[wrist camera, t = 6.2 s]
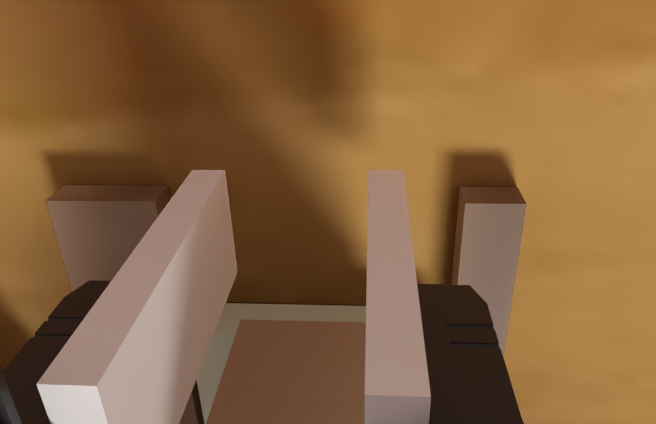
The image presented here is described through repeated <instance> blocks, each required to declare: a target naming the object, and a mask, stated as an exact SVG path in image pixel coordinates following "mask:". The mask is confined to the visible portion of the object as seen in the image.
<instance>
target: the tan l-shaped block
mask: <svg viewBox="0 0 656 424" xmlns="http://www.w3.org/2000/svg"><path fill="white" fill-rule="evenodd" d="M365 345H366V306H339V305H291V304H242V303H226V304H225V306H224V309H223V311H222V314H221V317H220V319H219V322H218V324H217V327H216V330H215V332H214V335H213V337H212V340H211V342H210V345H209V348H208V350H207V353H206V355H205V358H204V361H203V363H202V366H201V368H200V371H199V374H198V376H197V379H196V380H197V385H198V391H199V396H200V402H201V407H202V413H203V418H204V424H365Z"/></svg>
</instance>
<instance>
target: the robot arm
mask: <svg viewBox="0 0 656 424" xmlns="http://www.w3.org/2000/svg"><path fill="white" fill-rule="evenodd" d="M237 272H238V270H237V262H236V254H235V245H234V237H233V229H232V221H231V213H230V205H229V197H228V189H227V181H226V173H225V170H192V171H191V172H190V173H189V175H188V176H187V178H186V179H185V180H184V182H183V183H182V184H181V186H180V187H179V189H178V190H177V191H176V193H175V194H174V195H173V197H172V198H171V200H170V201H169V202H168V204H167V205H166V206H165V208H164V209H163V211H162V212H161V213H160V215H159V216H158V217H157V219H156V220H155V222H154V223H153V224H152V226H151V227H150V228H149V230H148V231H147V233H146V234H145V235H144V237H143V238H142V239H141V241H140V242H139V244H138V245H137V246H136V248H135V249H134V250H133V252H132V253H131V255H130V256H129V257H128V259H127V260H126V261H125V263H124V264H123V266H122V267H121V268H120V270H119V271H118V272H117V274H116V275H115V277H114V278H113V279H112V281H97V280H89V281H88V282H86V283H85V284H83V285H82V286H80V287H79V288H77V289H76V290H74V291H73V292H71V293H70V294H68V295H67V296H65V297H64V298H63V300H62V301H61V302H60V303H59V305H58V306H57V307H56V308H55V309H54V311H53V312H52V313H51V314H50V316H49V317H48V318H49V319H48V321H45V322H44V323H43V324H42V325H41V326H40V328H39V329H38V330H37V331H36V333H35V337H34V338H31V339H30V340H29V341H28V342H27V344H26V345H25V346H24V347H23V348H22V350H21V351H20V352H19V353H18V355H17V356H16V357H15V358H14V359H13V361H12V362H11V363H10V364H9V366H8V367H7V368H6V369H5V370H4V372H3V373H2V371H1V369H0V424H179V423H180V420H181V418H182V415H183V413H184V410H185V407H186V405H187V402H188V400H189V397H190V394H191V392H192V389H193V387H194V384H195V381H196V379H197V376H198V374H199V371H200V368H201V366H202V363H203V361H204V358H205V355H206V353H207V350H208V348H209V345H210V342H211V340H212V337H213V335H214V332H215V330H216V327H217V324H218V322H219V319H220V317H221V314H222V311H223V309H224V306H225V304H226V301H227V298H228V296H229V293H230V291H231V288H232V285H233V283H234V280H235V278H236V275H237ZM365 424H524V423H523V421H522V418H521V415H520V412H519V408H518V405H517V402H516V398H515V395H514V392H513V388H512V385H511V381H510V378H509V375H508V371H507V368H506V365H505V361H504V358H503V355H502V351H501V348H499V341H498V338H497V335H496V331H495V329H494V325H493V321H492V318H491V315H490V311H489V308H488V305H487V303H486V302H485V301H484V300H483V299H482V298H481V297H480V295H479V294H478V293H477V292H476V291H475V290H474V289H473V288H472V287H471V286H470V285H438V284H417V279H416V270H415V262H414V254H413V246H412V238H411V230H410V221H409V213H408V205H407V197H406V189H405V180H404V172H403V170H369V172H368V230H367V288H366V345H365Z"/></svg>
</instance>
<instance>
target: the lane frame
mask: <svg viewBox="0 0 656 424" xmlns="http://www.w3.org/2000/svg"><path fill="white" fill-rule="evenodd" d="M169 201H170V196H169V190H168V185H63V186H62V187H61V188H60V189H59V190H58V191H56V192H55V193H54V194H53V195H52V196H51V197H49V198H48V199H47V200H46V204H47V208H48V211H49V214H50V218H51V221H52V225H53V228H54V231H55V235H56V238H57V242H58V245H59V249H60V252H61V255H62V259H63V262H64V266H65V269H66V272H67V276H68V279H69V283H70V286H71V290H72V292H73V291H74V290H76V289H77V288H79V287H80V286H82V285H83V284H85V283H86V282H88V281H89V280H97V281H112V279H113V278H114V277H115V275H116V274H117V272H118V271H119V270H120V268H121V267H122V266H123V264H124V263H125V261H126V260H127V259H128V257H129V256H130V255H131V253H132V252H133V250H134V249H135V248H136V246H137V245H138V244H139V242H140V241H141V239H142V238H143V237H144V235H145V234H146V233H147V231H148V230H149V228H150V227H151V226H152V224H153V223H154V222H155V220H156V219H157V217H158V216H159V215H160V213H161V212H162V211H163V209H164V208H165V206H166V205H167V204H168V202H169ZM525 210H526V202H525V200H524V199H523V197H522V195H521V193H520V191H519V189H518V188H517V187H460V189H459V201H458V212H457V223H456V234H455V246H454V257H453V268H452V279H451V285H470V286H471V287H472V288H473V289H474V290H475V291H476V292H477V293H478V294H479V295H480V297H481V298H482V299H483V300H484V301H485V302H486V303H487V305H488V308H489V311H490V315H491V318H492V321H493V325H494V329H495V331H496V335H497V338H498V341H499V348H501V351H502V355H504V348H505V341H506V335H507V328H508V322H509V315H510V308H511V302H512V295H513V289H514V282H515V276H516V269H517V262H518V256H519V249H520V243H521V236H522V230H523V223H524V216H525ZM179 424H204V418H203V413H202V407H201V402H200V396H199V391H198V385H197V380H196V381H195V384H194V387H193V389H192V392H191V394H190V397H189V400H188V402H187V405H186V407H185V410H184V413H183V415H182V418H181V420H180V423H179Z"/></svg>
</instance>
